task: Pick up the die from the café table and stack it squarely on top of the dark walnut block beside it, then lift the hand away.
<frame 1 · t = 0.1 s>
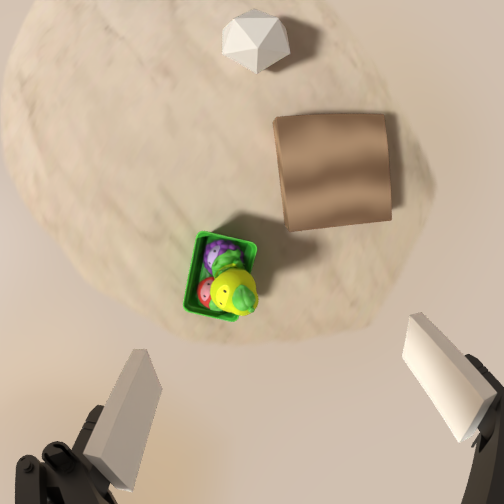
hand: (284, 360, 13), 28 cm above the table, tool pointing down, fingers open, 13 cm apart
die: (254, 51, 32), on the table
fruit basket: (225, 266, 41), on the table
walnut block: (328, 168, 38), on the table
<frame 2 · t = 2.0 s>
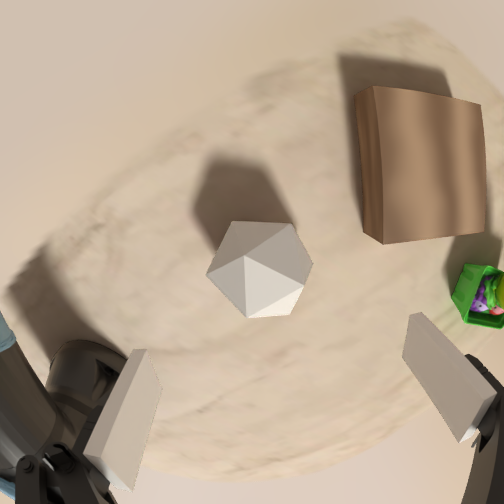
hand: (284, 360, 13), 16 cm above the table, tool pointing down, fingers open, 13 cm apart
die: (259, 254, 29), on the table
fruit basket: (475, 281, 31), on the table
walnut block: (415, 163, 26), on the table
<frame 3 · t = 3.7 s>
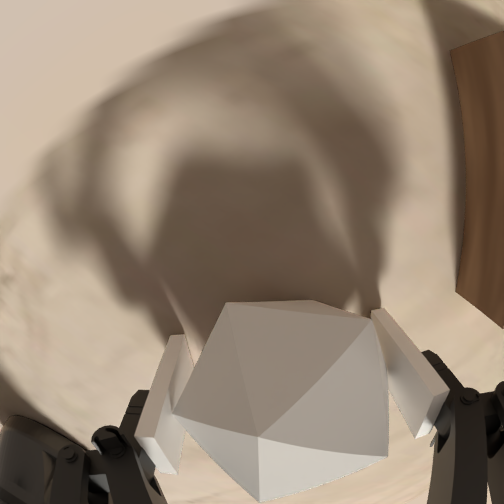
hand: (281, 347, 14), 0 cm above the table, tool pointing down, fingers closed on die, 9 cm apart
die: (280, 342, 14), on the table, touching gripper
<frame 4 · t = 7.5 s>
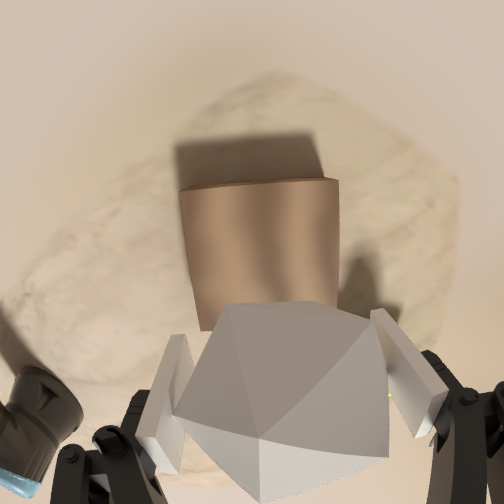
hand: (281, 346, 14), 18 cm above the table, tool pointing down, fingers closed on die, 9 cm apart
die: (280, 343, 14), point 17 cm above the table, touching gripper
walnut block: (262, 245, 31), on the table
when the fingers open (7 cm above the table, at t = 10.3 s): die drops 2 cm, point 4 cm above the table.
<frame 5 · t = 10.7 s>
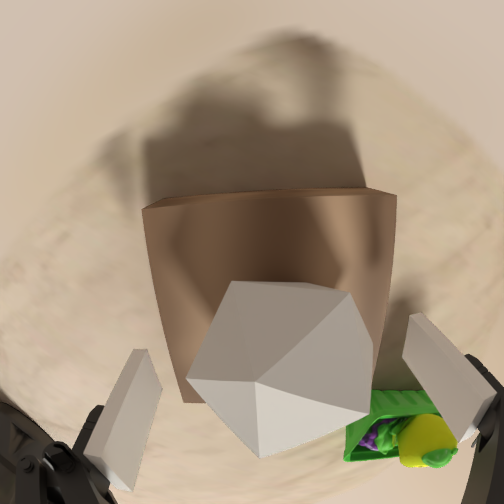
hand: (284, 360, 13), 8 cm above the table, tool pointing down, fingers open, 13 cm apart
die: (280, 321, 17), point 4 cm above the table
fruit basket: (390, 401, 26), on the table
walnut block: (271, 285, 21), on the table
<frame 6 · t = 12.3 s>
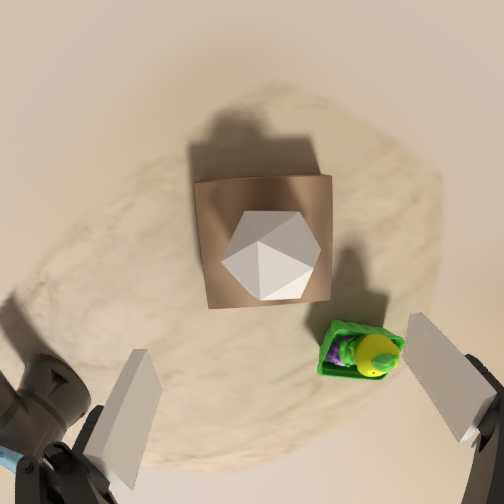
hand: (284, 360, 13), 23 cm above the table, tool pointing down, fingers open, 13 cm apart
die: (269, 243, 30), point 4 cm above the table, touching walnut block
fruit basket: (353, 333, 39), on the table
walnut block: (264, 234, 35), on the table, touching die
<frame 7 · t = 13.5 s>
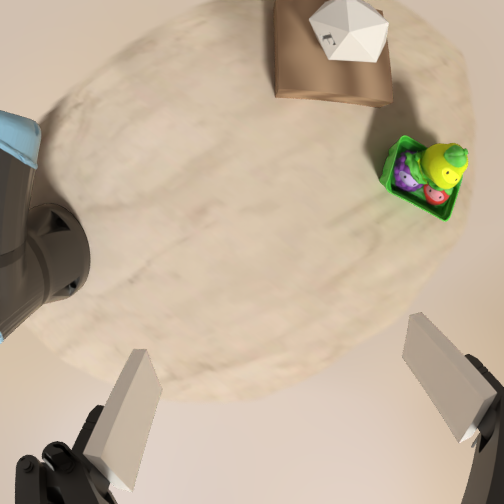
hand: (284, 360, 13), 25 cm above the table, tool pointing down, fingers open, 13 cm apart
die: (340, 42, 26), point 4 cm above the table, touching walnut block
fruit basket: (409, 173, 35), on the table
walnut block: (326, 55, 31), on the table, touching die
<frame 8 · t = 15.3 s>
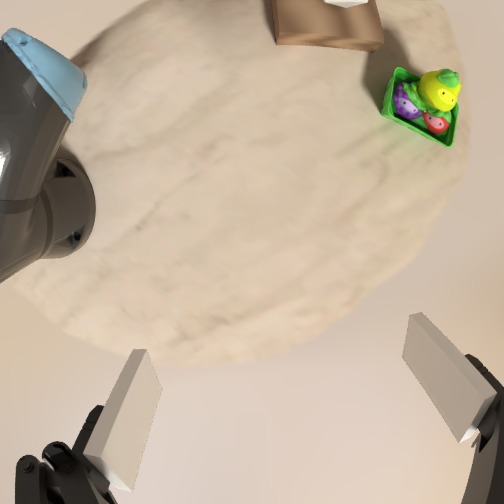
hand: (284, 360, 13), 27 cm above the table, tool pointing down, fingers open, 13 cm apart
fruit basket: (408, 108, 34), on the table
walnut block: (319, 10, 29), on the table, touching die
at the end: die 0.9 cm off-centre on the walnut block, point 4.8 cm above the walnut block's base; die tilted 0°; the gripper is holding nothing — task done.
